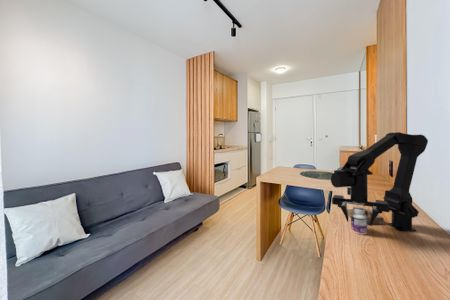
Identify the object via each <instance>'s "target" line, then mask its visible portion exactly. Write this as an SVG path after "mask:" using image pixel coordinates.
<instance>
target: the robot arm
mask: <svg viewBox="0 0 450 300" xmlns="http://www.w3.org/2000/svg"><path fill="white" fill-rule="evenodd" d="M428 142H429V139H427V137H426V136H425V135H424V134H410V133H403V132H401V131H399V132H398V131H397V132H388V133H386V134H385V135H384V136H383V137H382V138H381V139H379V140H377V141H376V142H374V143H373V144H372V145H370V146H369V147H368V148H366V149H364V150H362V151H357V152H355V153H352V154H351V155H349V156H348V157H347V160H346V162H345V164H344V165H343V166H342V168H341V170H334V171H333V173H332V174H331V177H330V182H331V185H332V186H333V187H334V188H347V191H346V193H347V194H346V195H348V196H349V198H345V196H344V195H338V194H334V195H333V196H332V198H331V204H332V205H336V206H337V208H340V210H341V211H342V213H343V215H344V217H345V219H346V222H348V223H349V216H348V211H347V209H348V204H351V205H357V206H363V207H371V211H372V212H371V218H370V224H369V226H372V225H374V224H373V222H374V220H375V218H376V217H377V215H380V214H383V213H390V212H391V222H388V223H387V224H388V226H391V227H393V228H394V229H396V230H397V231H399V232H402V231H403V232H405V231H406V232H417V229H416V228H415V227H413V219H414V218H416V217H418V216H419V213H420V212H419V210H418V209H417V207H415V206H414V205H413V197H412V195H411V193H410V190H411V185H412V180H413V176H414V173H415V168H416V164H417V160H418V157H419V156H420V155H422V154H423V153H424V152H425V150H426V148H427V146H428ZM396 145H397V150H398V152H399V154H400V158H399V162H398V165H397V166H398V167H397V170H396V174H395V179H394V182H393V186H392V188H391V189H389V190H388V189H387V190H385V191H384V196H383V198H382V200H380V199H375V202H374V201H369V199H368V198H369V197H368V178H369V177H368V175H369V176H372V175H373V174H374V173H373V172H372V171H370V170H369V169H370V168H371V167H372V166H373V165H374V164H375V161H376V159H377V158H378V157H380V156H381V155H383V154H384V153H386V152H387V151H388V150H390V149H392V148H394V146H396Z"/></svg>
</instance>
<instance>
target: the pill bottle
mask: <svg viewBox="0 0 450 300" xmlns="http://www.w3.org/2000/svg"><path fill="white" fill-rule="evenodd" d="M352 209H353V213H351V218H350V226H351V227H350V228H351V232H353V233H354V234H357V235H361V236H362V235H363V236H364V235H367V234H368V224H367V216H366V214H364V213H365V209H366V208H363V207H360V206H353V207H352Z"/></svg>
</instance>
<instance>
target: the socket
mask: <svg viewBox="0 0 450 300" xmlns="http://www.w3.org/2000/svg"><path fill="white" fill-rule="evenodd" d="M364 209H365V213H364V214H366V216H367V225H370V218H371V212H372V209H370V208H369V209H366V208H364ZM347 211H348V218H350V219H351V213H353V208H352V209H350V208H347ZM384 219H385V218H384V217H383V216H382V215H380V214H378V215H377V217H376V218H375V220H374V222H373V224H372V225H385V223H384Z"/></svg>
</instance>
